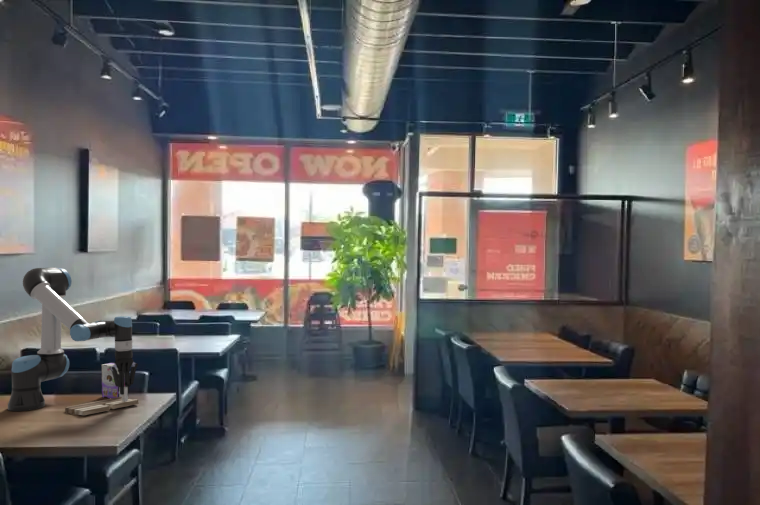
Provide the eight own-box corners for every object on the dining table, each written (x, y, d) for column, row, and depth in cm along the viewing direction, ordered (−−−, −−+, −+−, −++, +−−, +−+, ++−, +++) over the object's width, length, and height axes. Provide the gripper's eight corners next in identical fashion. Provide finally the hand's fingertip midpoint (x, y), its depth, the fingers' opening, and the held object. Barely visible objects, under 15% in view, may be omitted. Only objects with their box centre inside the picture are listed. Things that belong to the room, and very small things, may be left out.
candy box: (128, 398, 312) (128, 364, 312) (118, 400, 307) (118, 366, 307) (111, 394, 319) (111, 362, 319) (101, 397, 314) (100, 364, 315)
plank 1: (74, 414, 281) (74, 409, 281) (100, 408, 290) (100, 404, 290) (83, 415, 276) (83, 410, 276) (109, 410, 285) (109, 405, 285)
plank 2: (105, 408, 292) (105, 403, 292) (129, 403, 301) (129, 398, 301) (114, 408, 286) (114, 404, 286) (138, 403, 296) (138, 399, 296)
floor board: (65, 411, 285) (64, 407, 285) (121, 400, 306) (121, 396, 306) (72, 414, 281) (72, 409, 281) (129, 402, 301) (129, 398, 301)
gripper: (114, 352, 285) (115, 404, 285) (141, 348, 295) (142, 399, 295) (106, 351, 290) (107, 402, 289) (132, 347, 300) (133, 397, 299)
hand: (124, 401), depth 292 cm, fingers closed
